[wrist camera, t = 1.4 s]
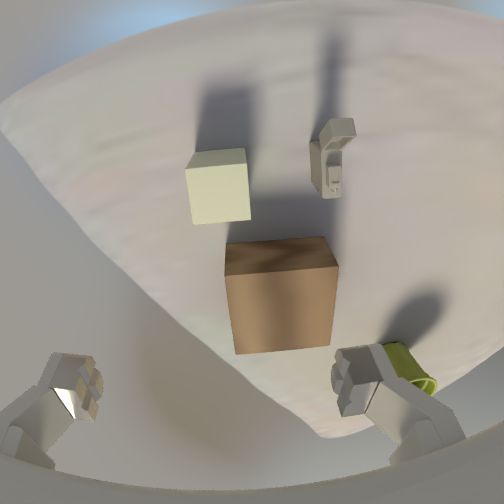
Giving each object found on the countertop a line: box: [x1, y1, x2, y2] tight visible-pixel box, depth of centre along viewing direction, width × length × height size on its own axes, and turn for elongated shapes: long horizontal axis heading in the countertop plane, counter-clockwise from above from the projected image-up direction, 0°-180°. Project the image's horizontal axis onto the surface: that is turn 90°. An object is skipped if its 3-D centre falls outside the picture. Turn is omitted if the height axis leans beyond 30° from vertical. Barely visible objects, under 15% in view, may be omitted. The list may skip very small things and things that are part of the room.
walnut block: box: [224, 236, 339, 355], centre depth 33 cm, size 10×10×6 cm
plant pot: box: [383, 342, 437, 396], centre depth 39 cm, size 9×9×9 cm
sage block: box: [185, 148, 251, 225], centre depth 26 cm, size 4×4×6 cm
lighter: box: [309, 118, 356, 199], centre depth 25 cm, size 7×2×8 cm, turn 6°
